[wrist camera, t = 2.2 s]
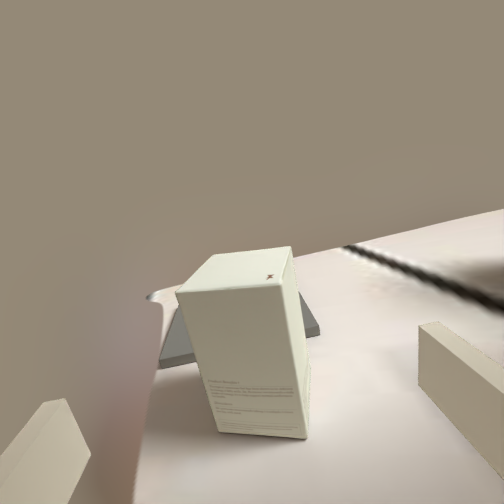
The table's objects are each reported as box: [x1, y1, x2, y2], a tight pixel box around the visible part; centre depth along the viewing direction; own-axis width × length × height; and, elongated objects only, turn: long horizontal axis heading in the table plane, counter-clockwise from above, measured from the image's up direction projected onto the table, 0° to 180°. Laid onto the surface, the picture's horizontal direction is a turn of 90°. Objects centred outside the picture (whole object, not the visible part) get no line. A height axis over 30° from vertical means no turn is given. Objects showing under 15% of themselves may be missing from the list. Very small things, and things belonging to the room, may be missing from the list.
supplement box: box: [175, 246, 311, 439], centre depth 22 cm, size 7×7×13 cm
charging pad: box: [159, 291, 320, 369], centre depth 37 cm, size 18×14×1 cm
